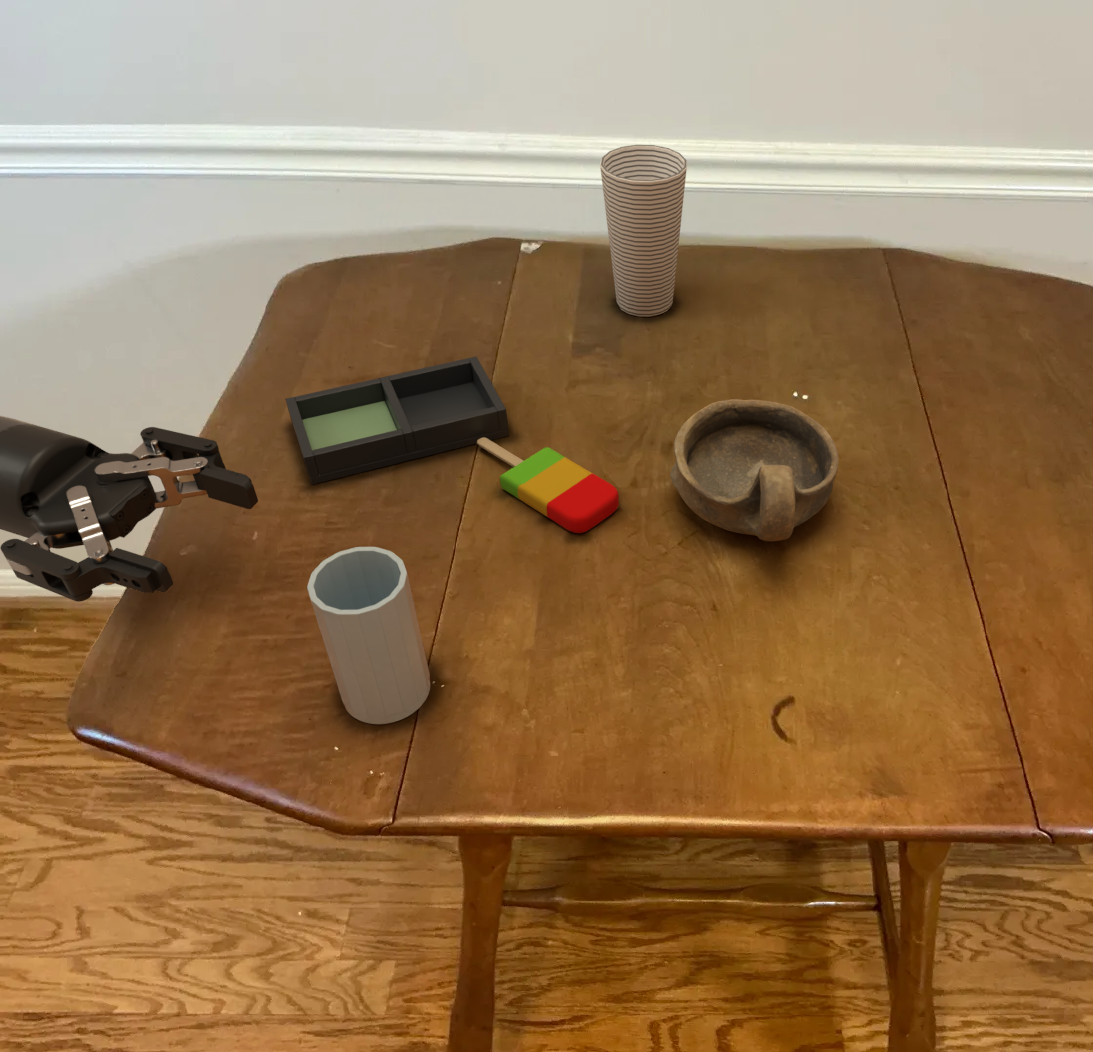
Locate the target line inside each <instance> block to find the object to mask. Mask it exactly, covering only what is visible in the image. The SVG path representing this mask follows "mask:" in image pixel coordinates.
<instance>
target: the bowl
mask: <svg viewBox="0 0 1093 1052" xmlns="http://www.w3.org/2000/svg"><path fill="white" fill-rule="evenodd" d="M673 441H674V442H673V454H674V458H675V462H674V463H673V465H672V467H671V468H670V469H671V470H670V473H669V476H670V480H671V483H672V485H673V486H674V488H675V489H676V491H677V492H678V494H679V496H680V498H681V499H682V500H683V501H684V503H685V504H686V505H687V507H688V508H689V509H690V510H691V511H692V512H693V513H694V514H695V515H697V516H698V517H700V518H701V519H702V520H703V521H706V522H708V523H709V524H711V525H714V526H716V527H718V528H720V529H724V530H726V531H728V532H733V533H738V534H743V535H749V536H757V538H758V539H759V540H762V541H764V542H778V541H784V540H785V541H786V540H788V539H789V538H790V537H791V536H792V534H793V532H794V528H795V527H798V526H800V525H801V524H804V523H806V522H807V521H808V520H809V519H811V518H812V517H813V516H815V515H816V514H818V513H819V512H820V511H821V510H822V509H823V508H824V507H825V505H826V504H827V502H828V501H829V499H830V497H831V495H832V492H833V487H834V480H835V478H836V477H837V476H836V475H837V472H838V468H839V461H840V460H839V452H838V449H837V446H836V443H835V441H834V439H833V438H832V436H831V434H830V433H829V432H828V431H827V430H826V428H825V427H824V426H823V425H822V424H820V423H819V422H818V421H816V420H815V419H813V418H812V417H811V416H809V415H808V414H806V413H805V412H803V411H801V410H800V409H797V408H795V407H793V406H791V405H789V404H783V403H781V402H776V401H769V400H762V399H761V400H760V399H740V398H734V399H732V398H731V399H725V400H719V401H715V402H711V403H710V404H707V405H706V406H704V407H702V408H701V409H699V410H697V411H695V413H693V414H692V415H691V416H690V417H689V418H688V419H686V420H685V422H684V423H683V424H682V425H681V427H680V428H679V430H678V431H677V433H676V434H675V438H674V440H673Z"/></svg>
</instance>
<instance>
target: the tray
mask: <svg viewBox="0 0 1093 1052" xmlns="http://www.w3.org/2000/svg"><path fill="white" fill-rule="evenodd" d="M285 404H286V406H287V410H288V414H289V417H290V420H291V424H292V427H293V430H294V433H295V437H296V440H297V443H298V447H299V450H300V453H301V456H302V460H303V462H304V466H305V469H306V472H307V476H308V478H309V481H310V484H311V485H316V484H321V483H325V482H329V481H333V480H337V479H341V478H344V477H349V476H351V475H356V474H360V473H365V472H368V471H372V470H376V469H380V468H385V467H388V466H389V467H390V466H393V465H396V464H400V463H405V462H409V461H413V460H417V459H420V458H424V457H429V456H433V455H437V454H441V453H446V452H449V451H454V450H458V449H461V448H465V447H469V446H473V445H478V444H477V440H479V439H480V438H487V439H489V440H490V441H492V440H493V441H494V440H496V439H501V438H505V437H508V436H509V435H510V432H509V421H508V415H507V408H506V407H505V405H504V402H503V401H502V399H501V398H500V395H499V394H498V392H497V390H496V389H495V387H494V385H493V383H492V381H491V379H490V378H489V376H488V374H487V372H486V371H485V369H484V367H483V365H482V364H481V362H480V360H479V358H478V356H476V355H475V356H472V357H468V358H467V357H466V358H463V359H462V358H461V359H459V360H454V361H448V362H444V363H440V364H436V365H431V366H426V367H422V368H417V369H413V370H408V371H403V372H400V373H399V372H398V373H395V374H391V375H386V376H382V377H377V378H373V379H368V380H364V381H359V382H355V383H351V384H345V385H341V386H337V387H333V388H327V389H324V390H323V389H322V390H319V391H314V392H310V393H306V394H301V395H296V396H290V397H287V398H285Z"/></svg>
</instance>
